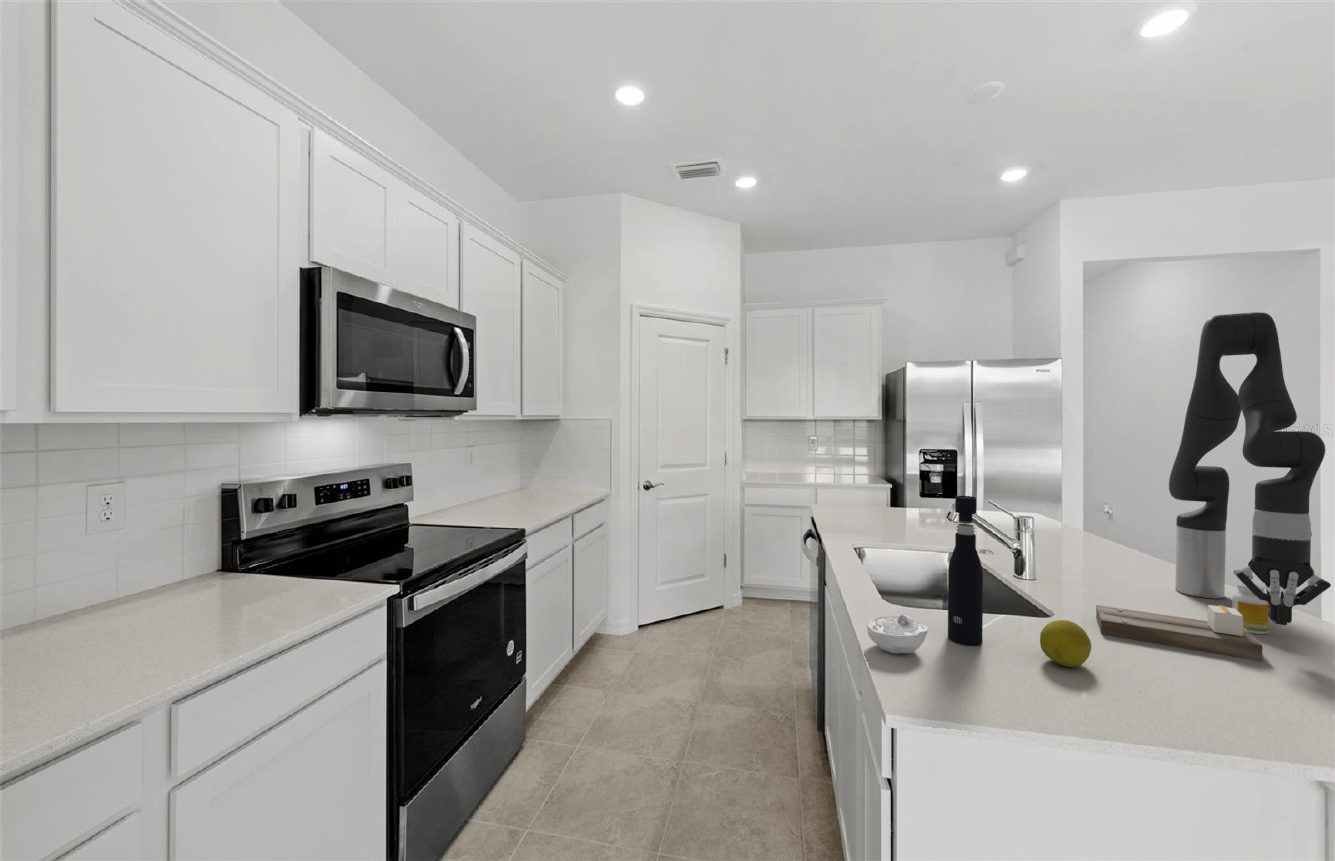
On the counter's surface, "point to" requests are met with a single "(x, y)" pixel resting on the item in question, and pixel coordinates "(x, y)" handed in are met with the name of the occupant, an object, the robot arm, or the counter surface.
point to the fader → (1225, 620)
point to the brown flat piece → (1175, 632)
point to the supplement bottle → (1251, 609)
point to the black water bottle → (965, 580)
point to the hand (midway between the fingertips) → (1279, 623)
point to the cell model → (897, 633)
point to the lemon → (1065, 643)
